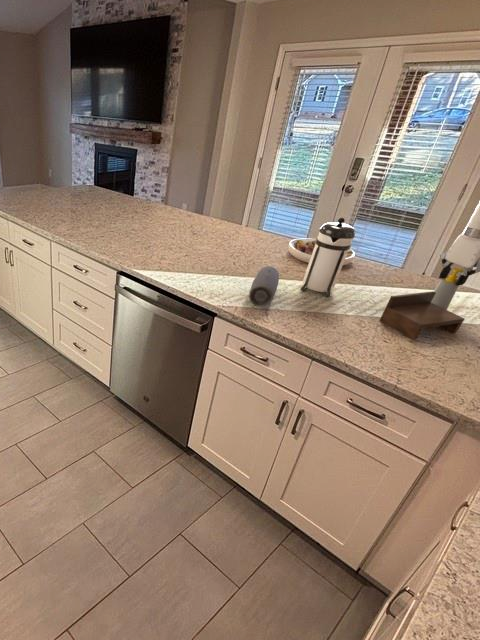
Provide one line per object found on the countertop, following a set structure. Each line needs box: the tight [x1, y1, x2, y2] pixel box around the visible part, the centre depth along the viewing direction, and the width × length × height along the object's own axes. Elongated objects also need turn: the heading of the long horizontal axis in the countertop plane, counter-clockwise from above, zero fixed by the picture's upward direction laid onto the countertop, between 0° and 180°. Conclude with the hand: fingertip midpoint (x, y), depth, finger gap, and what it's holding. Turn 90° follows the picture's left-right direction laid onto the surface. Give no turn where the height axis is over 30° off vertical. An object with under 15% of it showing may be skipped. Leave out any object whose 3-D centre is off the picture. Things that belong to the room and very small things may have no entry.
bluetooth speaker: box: [248, 266, 280, 308], centre depth 162 cm, size 23×9×10 cm, turn 154°
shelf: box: [379, 290, 465, 341], centre depth 147 cm, size 14×20×10 cm
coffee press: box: [299, 217, 356, 298], centre depth 166 cm, size 17×16×30 cm
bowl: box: [287, 238, 356, 266], centre depth 205 cm, size 30×30×8 cm
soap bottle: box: [431, 266, 464, 310], centre depth 155 cm, size 7×7×18 cm
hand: (450, 281), depth 153 cm, fingers closed on soap bottle, 5 cm apart
